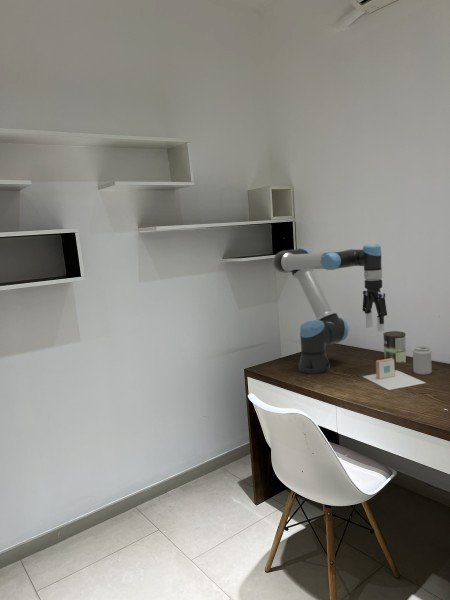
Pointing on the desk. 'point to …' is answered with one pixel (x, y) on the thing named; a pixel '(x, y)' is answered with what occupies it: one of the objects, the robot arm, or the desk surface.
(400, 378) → the mat
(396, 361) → the coffee can
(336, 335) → the robot arm
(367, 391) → the desk surface
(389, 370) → the tile
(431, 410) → the desk surface
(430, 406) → the desk surface
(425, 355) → the can
